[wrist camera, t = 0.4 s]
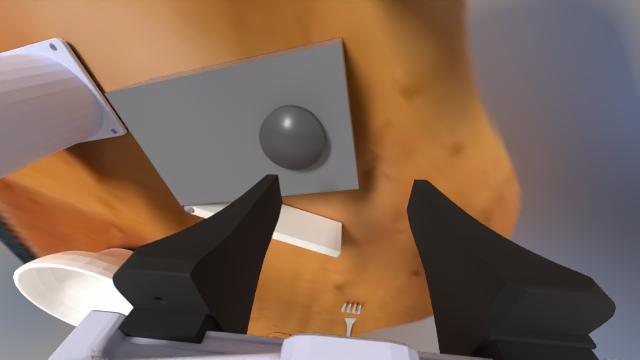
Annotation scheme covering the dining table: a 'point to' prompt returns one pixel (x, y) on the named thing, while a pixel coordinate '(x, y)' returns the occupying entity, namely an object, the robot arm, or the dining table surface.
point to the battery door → (292, 227)
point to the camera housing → (248, 124)
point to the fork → (350, 320)
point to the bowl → (74, 283)
